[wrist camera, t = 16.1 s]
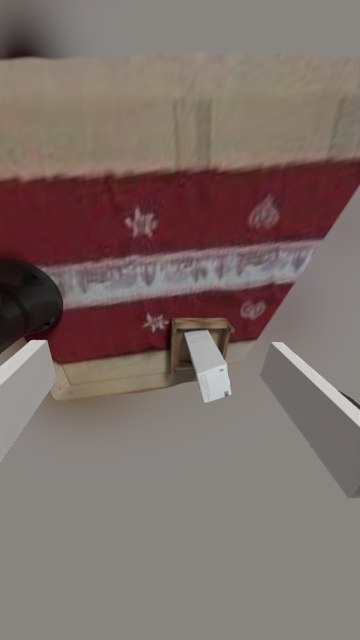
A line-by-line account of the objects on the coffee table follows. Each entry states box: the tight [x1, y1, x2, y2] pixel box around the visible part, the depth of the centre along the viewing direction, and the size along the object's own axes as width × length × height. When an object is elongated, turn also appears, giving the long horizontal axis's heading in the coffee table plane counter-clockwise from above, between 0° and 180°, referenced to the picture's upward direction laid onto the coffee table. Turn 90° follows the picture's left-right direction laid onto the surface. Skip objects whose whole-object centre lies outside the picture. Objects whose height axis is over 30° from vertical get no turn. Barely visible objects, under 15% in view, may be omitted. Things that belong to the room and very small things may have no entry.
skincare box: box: [184, 328, 231, 403], centre depth 40 cm, size 8×6×15 cm
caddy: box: [170, 318, 235, 376], centre depth 45 cm, size 14×13×6 cm
